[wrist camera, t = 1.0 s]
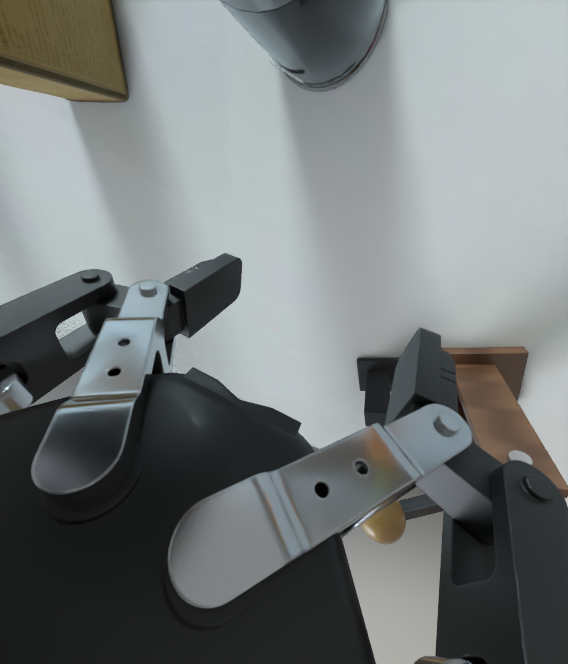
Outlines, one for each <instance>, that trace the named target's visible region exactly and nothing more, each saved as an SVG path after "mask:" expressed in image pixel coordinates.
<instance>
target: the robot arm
mask: <svg viewBox="0 0 568 664" xmlns="http://www.w3.org/2000/svg"><path fill="white" fill-rule="evenodd" d="M218 1H219V2H220V3H221V4H222V5H223V6H224V7H225V8H226V9H227V10H228V11H229V12H230V14H231V15H232V16H233V17H234V18H235V19H236V20H237V21H238V22H239V23H240V24H241V25H242V26H243V27H244V29H245V30H246V31H247V32H248V33H249V34H250V35H251V36H252V37H253V38H254V39H255V40H256V41H257V42H258V44H259V45H260V46H261V47H262V48H263V49H264V50H265V51H266V52H267V53H268V54H269V55H270V56H271V57H272V59H273V60H274V61H275V62H276V63H277V64H278V65H279V66H280V67H278V66H277V65H275V64H273V63H272V62H270V61H269V62H270V63H271V64H272V65H274V66H275V67H277V68H279V69H280V70H282V71H283V72H284V73H285V74H286V76H287V77H288V78H289V79H290V80H291V81H292V82H293V83H295V84H296V85H297V86H299V87H301V88H303V89H305V90H308V91H312V92H324V91H329V90H332V89H335V88H337V87H339V86H341V85H343V84H344V83H346V82H347V81H349V80H350V79H351V78H352V77H353V76H354V75H355V74H356V73H357V72H358V71H359V70H360V69H361V68H362V67H363V65H364V64H365V62H366V61H367V60H368V58H369V56H370V55H371V53H372V51H373V49H374V47H375V46H376V43H377V41H378V39H379V36H380V33H381V31H382V27H383V24H384V20H385V16H386V11H387V4H388V0H218ZM241 273H242V261H241V259H240V258H237V257H234V256H232V255H229V254H226V253H224V254H222V255H220V256H218V257H217V258H215V259H213V260H208V261H203V262H200V263H198V264H197V265H195V266H193V268H192V267H191V268H189V269H188V270H186V271H184V272H182V273H180V274H178V275H177V276H175V277H173V278H171V279H169V280H167V281H166V282H164V283H163V282H160V281H156V280H144V281H139V282H136V283H134V284H132V285H131V286H130V287H127V286H121V285H116V284H114V281H113V278H112V275H111V274H110V273H109V272H107V271H104V270H99V269H91V270H84V271H80V272H78V273H75V274H73V275H70V276H68V277H66V278H63V279H61V280H59V281H56V282H54V283H52V284H49V285H47V286H45V287H42V288H40V289H38V290H35V291H33V292H31V293H29V294H26V295H24V296H22V297H19V298H17V299H15V300H12V301H10V302H8V303H5V304H3V305H1V306H0V664H376V662H375V659H374V655H373V651H372V648H371V644H370V640H369V637H368V633H367V629H366V626H365V622H364V618H363V615H362V611H361V608H360V604H359V600H358V597H357V593H356V589H355V586H354V582H353V578H352V575H351V571H350V568H349V564H348V560H347V557H346V553H345V549H344V545H343V542H342V538H343V537H344V536H346V535H347V534H349V533H350V532H352V531H353V530H355V529H356V528H358V527H359V526H361V525H362V524H363V523H365V522H366V521H368V520H369V519H370V518H372V517H373V516H374V515H376V514H377V513H379V512H380V511H382V510H383V509H385V508H386V507H387V506H389V505H390V504H392V503H393V502H395V501H396V500H398V499H399V498H401V497H402V496H404V495H405V494H406V493H408V492H410V491H411V490H412V489H414V488H415V487H418V488H419V489H421V490H422V491H423V492H424V493H425V494H426V495H427V496H429V497H430V498H431V499H432V500H433V501H434V502H435V503H436V504H438V505H439V506H440V507H441V508H442V509H443V510H444V516H443V533H442V551H441V568H440V569H441V570H440V586H439V603H438V621H437V639H436V656H424V657H422V658H419V659H418V660H417V661H416V662H415V663H414V664H568V507H567V504H566V501H565V499H564V497H563V495H562V494H561V492H560V490H559V489H558V488H557V487H556V485H555V484H554V483H553V482H552V481H551V480H550V479H549V478H548V477H547V476H546V475H545V474H544V473H542V472H541V471H540V470H538V469H537V468H535V467H534V466H532V465H530V464H528V463H526V462H523V461H520V460H510V461H508V462H506V463H504V464H502V463H501V462H499V461H498V460H497V459H495V458H494V457H493V456H491V455H490V454H488V453H487V452H486V451H484V450H483V449H482V448H480V447H479V446H478V445H476V444H475V443H474V442H473V441H472V439H473V438H472V432H471V430H470V427H469V426H468V424H467V423H466V421H465V420H464V419H463V418H462V417H461V416H460V415H459V414H458V398H457V385H456V383H457V381H456V376H455V375H456V365H455V362H454V360H453V359H452V357H451V355H450V353H449V352H446V351H444V350H441V336H440V335H439V334H436V333H434V332H431V331H428V330H426V329H423V328H419V329H418V330H417V331H416V333H415V334H414V336H413V338H412V339H411V341H410V342H409V344H408V345H407V347H406V349H405V350H404V352H403V353H402V355H401V357H400V359H399V361H398V363H397V366H396V369H395V374H394V379H393V384H392V390H391V395H390V400H389V405H388V410H387V416H386V421H385V426H382V424H381V423H375V424H372V425H370V426H368V427H366V428H364V429H362V430H360V431H358V432H355V433H353V434H351V435H349V436H347V437H345V438H343V439H341V440H339V441H336V442H334V443H332V444H330V445H328V446H326V447H324V448H322V449H320V450H317V451H314V450H313V448H312V447H311V446H310V444H309V443H308V442H307V441H306V440H305V438H304V437H303V436H302V435H300V434H299V433H298V431H299V428H300V426H301V423H300V422H298V421H297V420H295V419H293V418H291V417H289V416H287V415H285V414H283V413H281V412H279V411H277V410H275V409H273V408H270V407H266V406H262V405H258V404H254V403H250V402H246V401H242V400H240V399H238V398H237V397H236V396H235V395H234V394H233V393H231V392H230V391H229V390H228V389H227V388H226V387H225V386H224V385H223V384H221V383H220V382H219V381H218V380H217V379H215V378H213V377H211V376H209V375H207V374H205V373H203V372H201V371H199V370H197V369H195V368H192V369H190V370H189V371H188V372H187V373H186V374H180V373H172V368H173V361H174V353H175V345H176V338H175V336H176V335H178V334H179V333H180V334H182V335H184V336H186V337H188V338H190V337H191V336H193V335H194V334H195V333H196V332H198V331H199V330H200V329H201V328H202V327H204V326H205V325H206V324H207V323H208V322H210V321H211V320H212V319H213V318H215V317H216V316H217V315H218V314H219V313H221V312H222V311H223V310H224V309H225V308H227V307H228V306H229V305H230V304H232V303H233V302H234V301H235V300H236V299H237V297H238V296H239V293H240V289H241ZM81 311H82V313H83V315H84V318H85V320H86V322H87V324H85V325H83V326H81V327H80V328H78V329H76V330H75V331H73V332H71V333H70V334H68V335H66V336H65V337H63V338H61V339H60V340H58V338H57V337H56V334H55V331H56V328H57V326H58V325H59V324H60V323H61V322H63V321H65V320H66V319H68V318H70V317H72V316H74V315H76V314H77V313H79V312H81ZM83 367H84V369H83V371H82V373H81V375H80V378H79V380H78V382H77V385H76V387H75V389H74V392H73V394H72V396H69V397H66V398H62V399H58V400H54V401H50V402H47V403H43V404H39V405H35V406H31V407H29V406H30V405H31V404H33V403H34V402H36V401H37V400H38V399H40V398H41V397H43V396H44V395H45V394H47V393H48V392H50V391H51V390H52V389H54V388H55V387H56V386H58V385H59V384H61V383H62V382H63V381H65V380H66V379H68V378H69V377H70V376H72V375H73V374H74V373H76V372H77V371H79V370H80V369H81V368H83Z"/></svg>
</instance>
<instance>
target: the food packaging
mask: <svg viewBox="0 0 568 664" xmlns="http://www.w3.org/2000/svg"><path fill="white" fill-rule="evenodd" d="M0 84H3V85H7V86H11V87H16V88H20V89H25V90H30V91H35V92H40V93H44V94H49V95H53V96H57V97H62V98H65V99H67V100H70V101H77V102H125V101H127V100H128V92H127V86H126V80H125V74H124V69H123V64H122V59H121V53H120V48H119V42H118V37H117V31H116V26H115V20H114V14H113V8H112V3H111V0H0Z"/></svg>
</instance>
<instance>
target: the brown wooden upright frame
mask: <svg viewBox="0 0 568 664" xmlns="http://www.w3.org/2000/svg"><path fill="white" fill-rule="evenodd" d="M441 350H444V351H446V352H449V353H450V355H451V357H452V359H453V360H454V362H455V365H456V375H455V376H456V381H457V383H456V385H457V398H458V414H459V415H460V416H461V417H462V418H463V419H464V420H465V421H466V423H467V424H468V426H469V427H470V430H471V432H472V438H473V439H472V441H473V442H474V443H475V444H476V445H478V446H479V447H480V448H482V449H483V450H484V451H486V452H487V453H488V454H490V455H491V456H493V457H494V458H495V459H497V460H498V461H499V462H501V463H502V464H504V463H506V462H508V461H510V460H520V461H523V462H526V463H528V464H530V465H532V466H534V467H535V468H537V469H538V470H540V471H541V472H542V473H544V474H545V475H546V476H547V477H548V478H549V479H550V480H551V481H552V482H553V483H554V484H555V485H556V487H557V488H558V489H559V490H560V492H561V494H562V495H563V497H564V498H567V496H568V485H567V484H566V482H565V480H564V479H563V477H562V475H561V474H560V472H559V470H558V469H557V467H556V465H555V464H554V462H553V460H552V459H551V457H550V455H549V454H548V452H547V450H546V449H545V447H544V445H543V444H542V442H541V441H540V439H539V437H538V436H537V434H536V432H535V431H534V429H533V427H532V426H531V424H530V422H529V421H528V419H527V417H526V416H525V414H524V412H523V411H522V409H521V407H520V406H519V404H518V402H517V401H518V397H519V392H520V388H521V383H522V379H523V375H524V370H525V366H526V362H527V357H528V352H527V350H526V349H525V348H524V347H499V348H441Z"/></svg>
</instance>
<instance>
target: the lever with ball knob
mask: <svg viewBox="0 0 568 664" xmlns="http://www.w3.org/2000/svg"><path fill="white" fill-rule="evenodd" d="M441 511H444V510H443V509H442V508H441V507H440V506H439V505H438V504H436V503H435V502H434V501H433V500H432V499H431V498H430V497H429V496H427V495H426V494H424V495H420V496H416V497H412V498H408V499H404V500H400V501H398V500H396V501H395V502H393V503H392V504H390V505H389V506H387V507H386V508H385V509H383V510H382V511H380V512H379V513H377V514H376V515H374V516H373V517H372V518H370V519H369V520H368V521H366V522H365V523H363V524H362V525H361V527H362V529H363V530H364V532H365V533H366V534H367V535H368V536H369V537H370V538H371V539H372V540H374V541H376V542H378V543H381V544H392V543H394V542H396V541H398V540H399V539H400V538H401V536H402V535H403V533H404V530H405V525H406V520H409V519H412V518H417V517H421V516H425V515H429V514H433V513H437V512H441Z"/></svg>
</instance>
